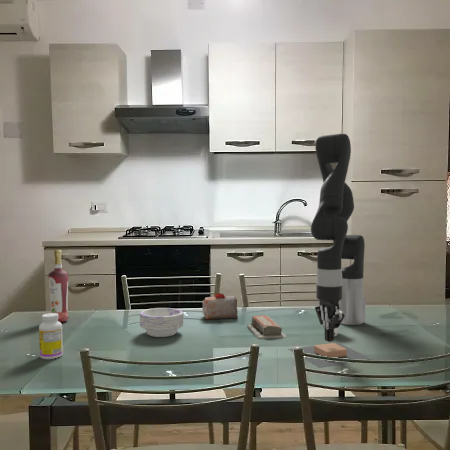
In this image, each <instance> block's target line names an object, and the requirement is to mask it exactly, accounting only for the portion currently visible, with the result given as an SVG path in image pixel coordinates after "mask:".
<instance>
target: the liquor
mask: <svg viewBox="0 0 450 450" xmlns="http://www.w3.org/2000/svg"><path fill="white" fill-rule="evenodd" d="M53 253H54V254H53V255H54V265H53V266H54V267H53V268H54V270H52V271H50V272H49V273H48V286H49V287H48V288H49V297H50V298H49V299H50V313H57V314H58V322H60V323H61V322H64V323H65V321H66V322H67V321H68V320H69V318H70V317H69V315H68V313H69V312H68V311H69V310H68V297H69V273H68V271H66V270H64V269H63V265H62V249H54V250H53ZM61 324H62V323H61Z"/></svg>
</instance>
